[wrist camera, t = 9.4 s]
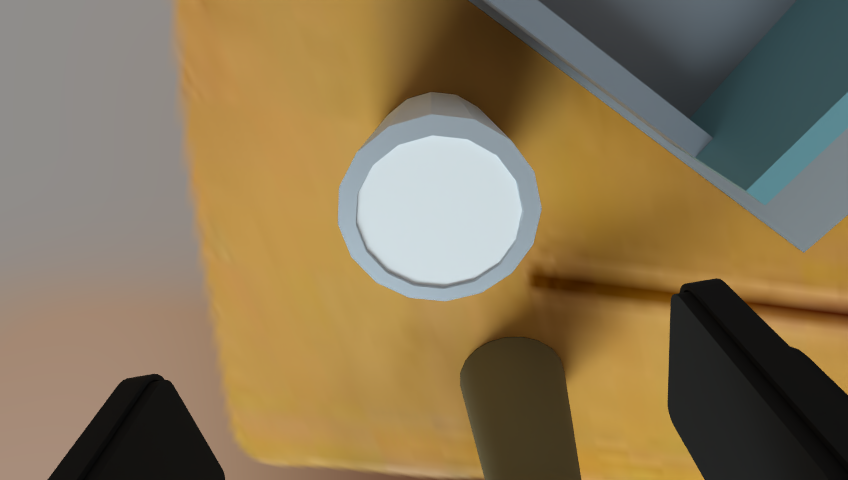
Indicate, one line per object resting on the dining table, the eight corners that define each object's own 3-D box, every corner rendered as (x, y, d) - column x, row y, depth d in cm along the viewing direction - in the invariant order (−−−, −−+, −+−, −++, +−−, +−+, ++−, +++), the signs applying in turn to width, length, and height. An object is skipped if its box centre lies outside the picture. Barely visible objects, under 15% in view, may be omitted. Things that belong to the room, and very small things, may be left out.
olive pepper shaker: (468, 331, 27) (490, 524, 18) (575, 342, 28) (656, 538, 18) (452, 411, 30) (464, 616, 20) (550, 420, 30) (608, 627, 21)
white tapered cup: (384, 55, 21) (365, 84, 15) (535, 105, 22) (577, 153, 16) (345, 199, 24) (316, 274, 18) (479, 238, 25) (497, 323, 19)
